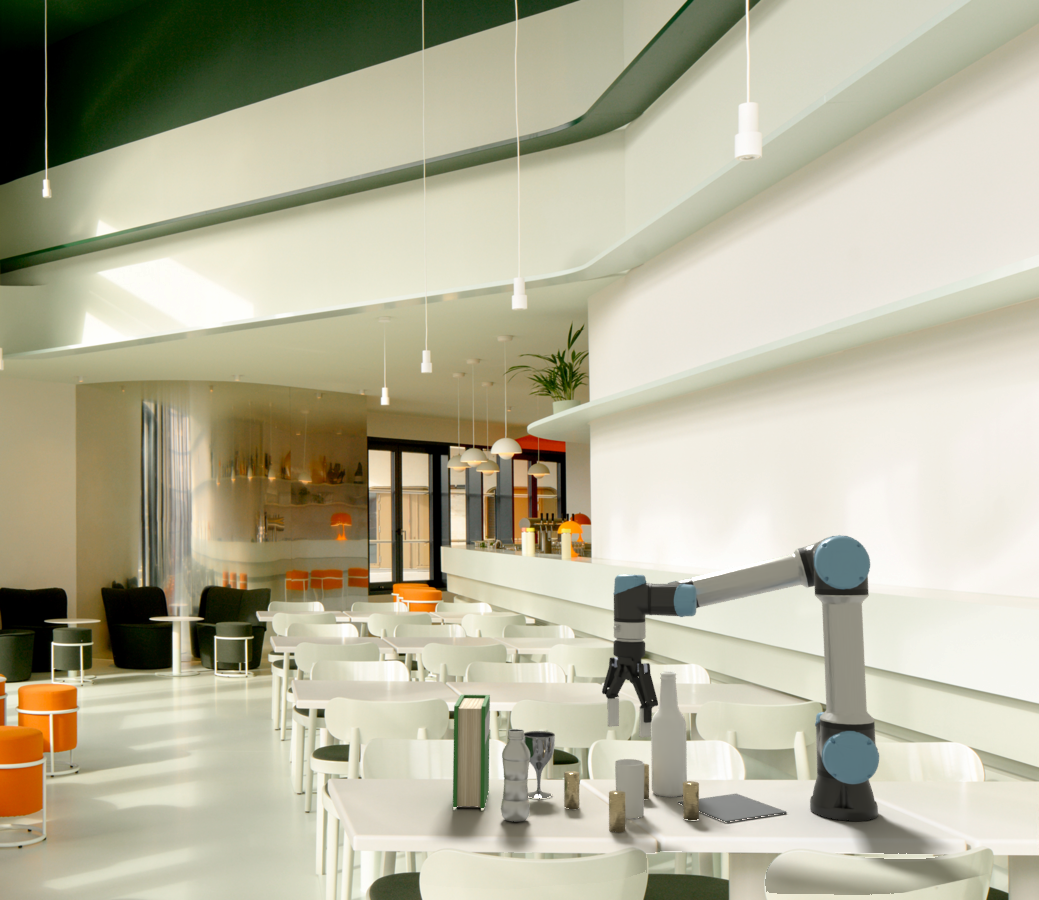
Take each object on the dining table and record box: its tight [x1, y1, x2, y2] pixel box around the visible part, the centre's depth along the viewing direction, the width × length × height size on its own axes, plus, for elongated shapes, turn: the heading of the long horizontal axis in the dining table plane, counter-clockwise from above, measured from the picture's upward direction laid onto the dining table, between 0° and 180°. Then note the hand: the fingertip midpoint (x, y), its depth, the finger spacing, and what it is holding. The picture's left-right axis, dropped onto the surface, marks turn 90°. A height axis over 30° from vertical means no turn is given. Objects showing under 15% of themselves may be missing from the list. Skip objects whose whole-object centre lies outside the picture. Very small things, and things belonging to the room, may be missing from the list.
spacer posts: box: [563, 763, 700, 834], centre depth 222 cm, size 24×24×8 cm
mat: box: [677, 793, 788, 822], centre depth 226 cm, size 18×18×1 cm
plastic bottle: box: [500, 728, 531, 823], centre depth 216 cm, size 6×7×20 cm
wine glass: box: [523, 730, 556, 799], centre depth 237 cm, size 8×8×15 cm
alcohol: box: [650, 671, 688, 798], centre depth 241 cm, size 9×9×30 cm
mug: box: [614, 758, 645, 820], centre depth 222 cm, size 10×7×12 cm, turn 171°
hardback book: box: [452, 694, 491, 808], centre depth 233 cm, size 18×7×24 cm, turn 178°
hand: (628, 731), depth 223 cm, fingers open, 13 cm apart
